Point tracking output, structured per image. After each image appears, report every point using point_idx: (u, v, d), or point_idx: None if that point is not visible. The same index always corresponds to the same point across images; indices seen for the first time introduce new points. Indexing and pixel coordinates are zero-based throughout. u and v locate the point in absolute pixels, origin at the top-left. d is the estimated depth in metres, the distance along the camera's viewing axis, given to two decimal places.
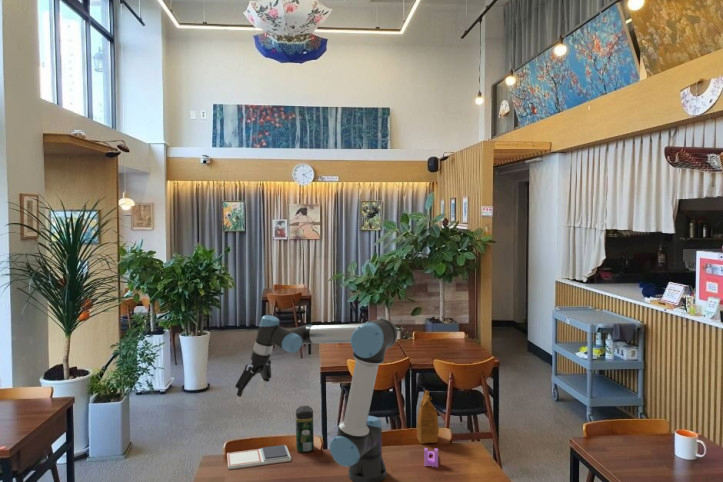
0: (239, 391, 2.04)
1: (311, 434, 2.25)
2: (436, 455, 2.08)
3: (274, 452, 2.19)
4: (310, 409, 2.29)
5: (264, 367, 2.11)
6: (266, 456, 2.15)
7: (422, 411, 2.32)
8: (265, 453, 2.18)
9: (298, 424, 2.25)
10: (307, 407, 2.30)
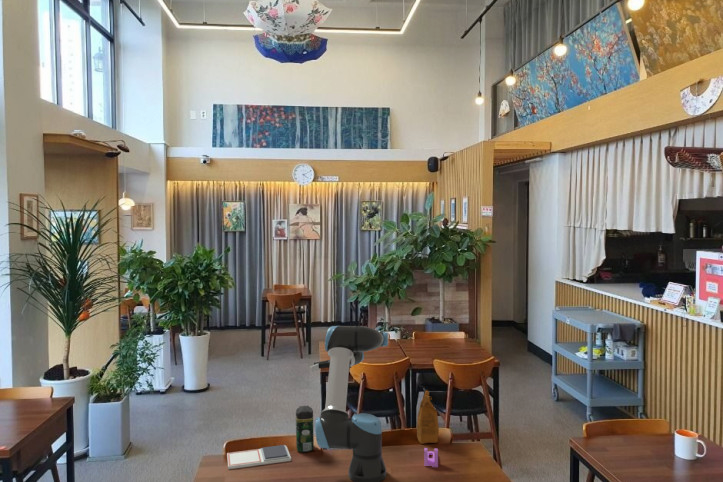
0: None
1: (311, 434, 2.25)
2: (436, 455, 2.08)
3: (274, 452, 2.19)
4: (310, 409, 2.29)
5: None
6: (266, 456, 2.15)
7: (422, 411, 2.32)
8: (265, 453, 2.18)
9: (298, 424, 2.25)
10: (307, 407, 2.30)
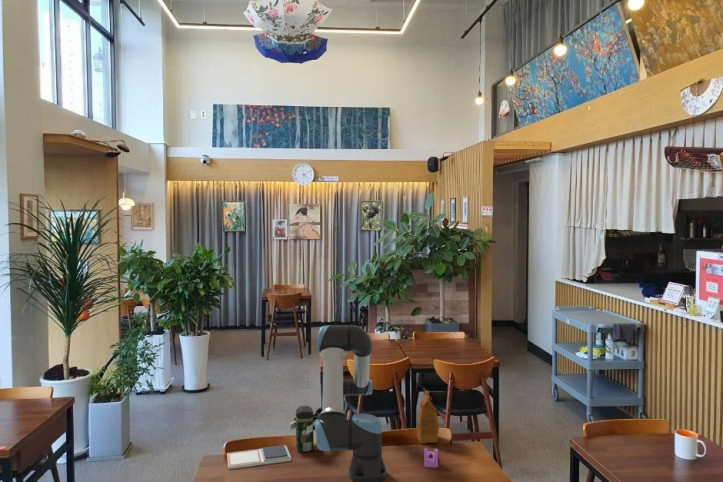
0: None
1: (311, 434, 2.25)
2: (436, 455, 2.08)
3: (274, 452, 2.19)
4: (310, 409, 2.29)
5: None
6: (266, 456, 2.15)
7: (422, 411, 2.32)
8: (265, 453, 2.18)
9: (298, 424, 2.25)
10: (307, 407, 2.30)
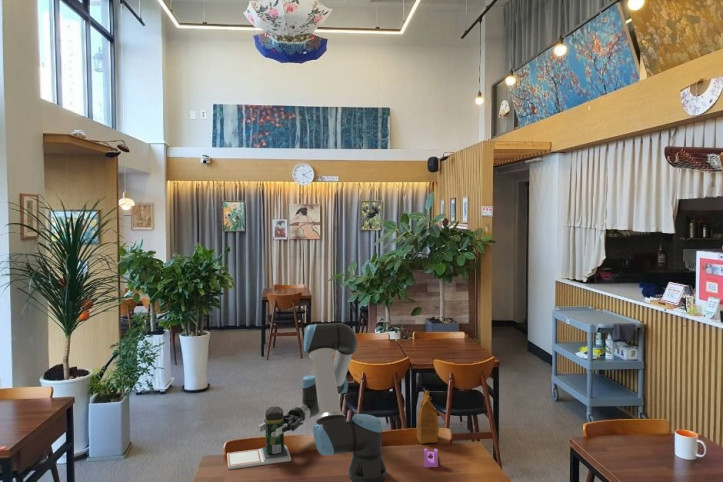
0: None
1: (281, 436, 2.18)
2: (436, 456, 2.07)
3: None
4: (280, 410, 2.21)
5: (293, 415, 2.29)
6: (266, 456, 2.15)
7: (422, 411, 2.32)
8: (265, 453, 2.18)
9: (267, 426, 2.17)
10: (277, 408, 2.22)
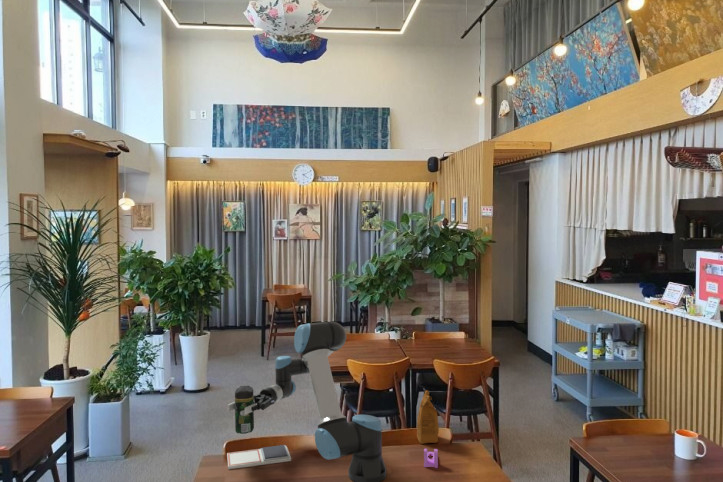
0: None
1: (250, 415, 2.14)
2: (436, 456, 2.07)
3: (274, 452, 2.19)
4: (250, 389, 2.17)
5: (264, 395, 2.26)
6: (266, 456, 2.15)
7: (422, 411, 2.32)
8: (265, 453, 2.18)
9: (236, 404, 2.14)
10: (247, 387, 2.18)
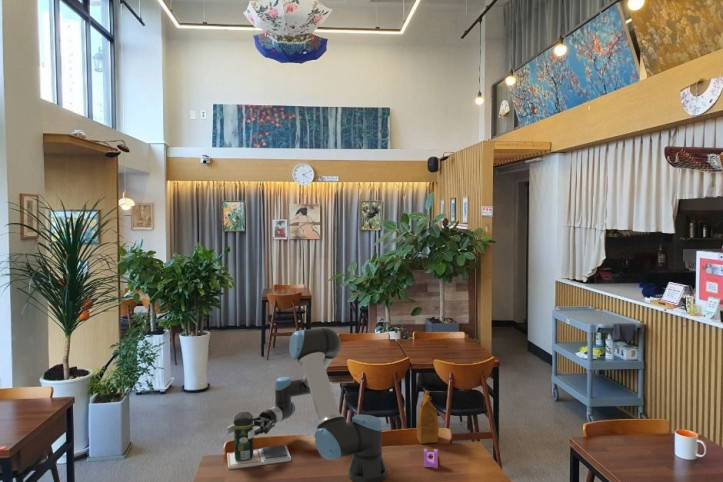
0: None
1: (249, 442, 2.14)
2: (436, 456, 2.07)
3: (274, 452, 2.19)
4: (249, 415, 2.17)
5: (264, 418, 2.26)
6: (266, 456, 2.15)
7: (422, 411, 2.32)
8: (265, 453, 2.18)
9: (236, 431, 2.13)
10: (246, 413, 2.18)
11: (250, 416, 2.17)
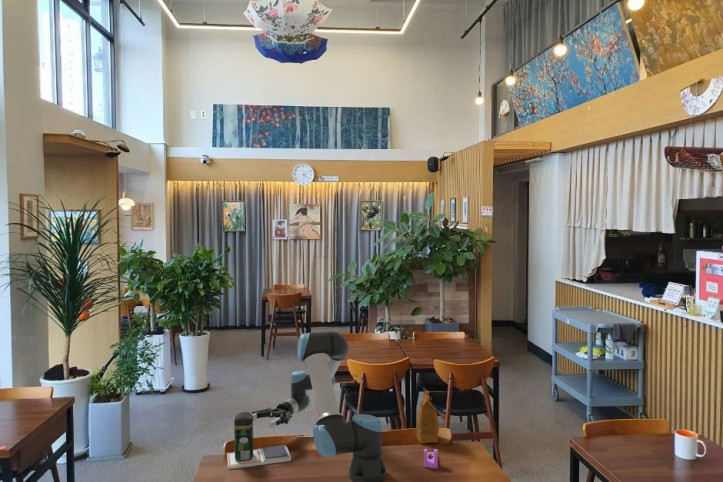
0: None
1: (250, 442, 2.14)
2: (435, 456, 2.07)
3: (274, 452, 2.19)
4: (249, 415, 2.17)
5: (281, 409, 2.37)
6: (266, 456, 2.15)
7: (422, 411, 2.32)
8: (265, 453, 2.18)
9: (236, 431, 2.13)
10: (247, 413, 2.18)
11: (250, 416, 2.17)
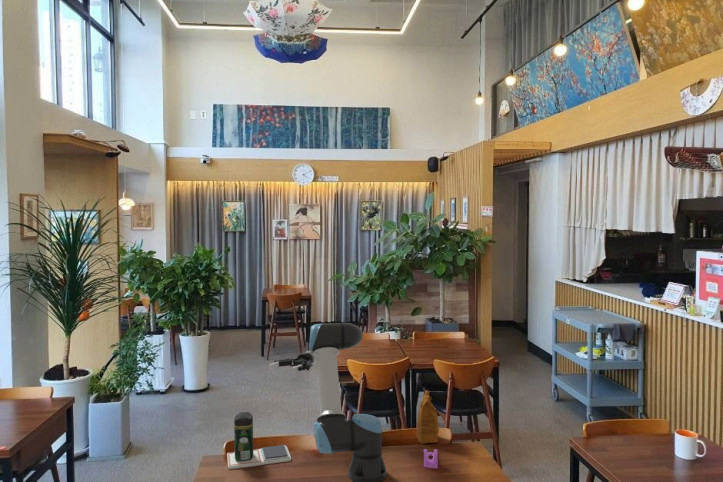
0: None
1: (250, 442, 2.14)
2: (435, 456, 2.07)
3: (274, 452, 2.19)
4: (249, 415, 2.17)
5: (302, 358, 2.45)
6: (266, 456, 2.15)
7: (422, 411, 2.32)
8: (265, 453, 2.18)
9: (236, 431, 2.13)
10: (247, 413, 2.18)
11: (250, 416, 2.17)
